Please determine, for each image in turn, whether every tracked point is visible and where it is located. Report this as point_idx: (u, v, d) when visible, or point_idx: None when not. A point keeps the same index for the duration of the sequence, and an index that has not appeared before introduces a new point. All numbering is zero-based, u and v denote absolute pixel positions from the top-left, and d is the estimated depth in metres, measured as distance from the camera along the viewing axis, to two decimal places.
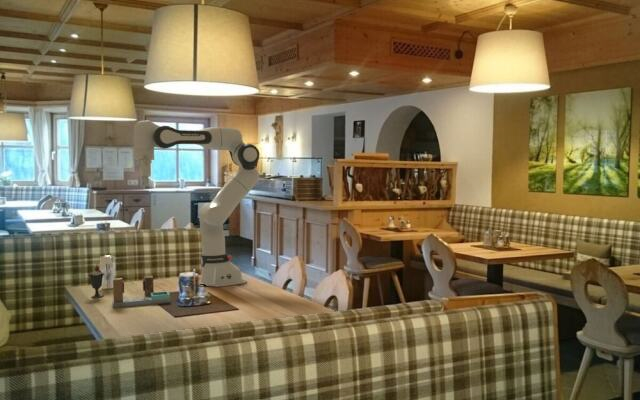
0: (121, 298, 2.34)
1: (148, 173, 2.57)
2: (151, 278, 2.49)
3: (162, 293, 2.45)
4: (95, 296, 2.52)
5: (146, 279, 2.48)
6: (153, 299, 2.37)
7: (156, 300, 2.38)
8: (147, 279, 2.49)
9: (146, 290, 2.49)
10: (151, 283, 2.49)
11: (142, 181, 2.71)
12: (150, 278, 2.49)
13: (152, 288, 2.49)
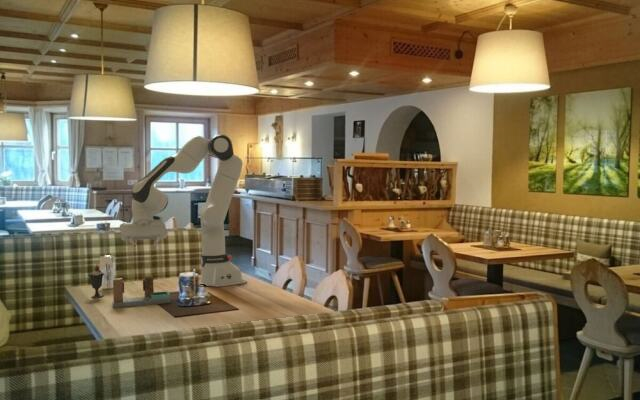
0: (121, 298, 2.34)
1: (121, 235, 2.61)
2: (151, 278, 2.49)
3: (162, 293, 2.45)
4: (95, 296, 2.52)
5: (146, 279, 2.48)
6: (153, 299, 2.37)
7: (156, 300, 2.38)
8: (147, 279, 2.49)
9: (146, 290, 2.49)
10: (151, 283, 2.49)
11: None
12: (150, 278, 2.49)
13: (152, 288, 2.49)
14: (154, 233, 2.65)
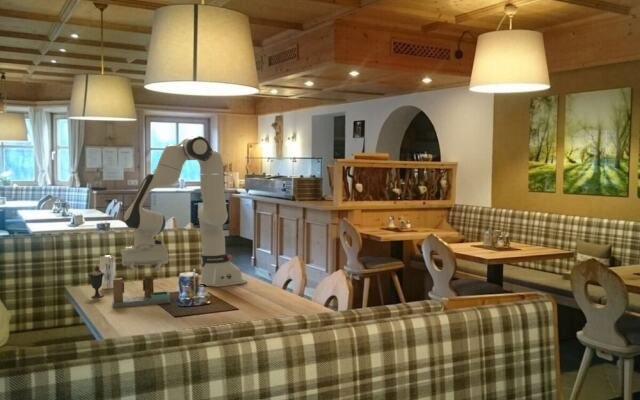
0: (121, 298, 2.34)
1: (122, 261, 2.56)
2: (151, 278, 2.49)
3: (162, 293, 2.45)
4: (95, 296, 2.52)
5: (146, 279, 2.48)
6: (153, 299, 2.37)
7: (156, 300, 2.38)
8: (147, 279, 2.49)
9: (146, 290, 2.49)
10: (151, 283, 2.49)
11: None
12: (150, 278, 2.49)
13: (152, 288, 2.49)
14: (156, 258, 2.60)
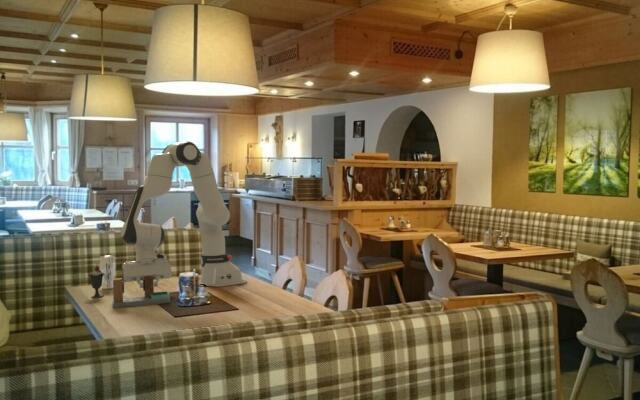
0: (121, 298, 2.34)
1: None
2: (151, 278, 2.49)
3: (162, 293, 2.45)
4: (95, 296, 2.52)
5: (146, 279, 2.48)
6: (153, 299, 2.37)
7: (156, 300, 2.38)
8: (147, 279, 2.49)
9: (146, 290, 2.49)
10: (151, 283, 2.49)
11: None
12: (150, 278, 2.49)
13: (152, 288, 2.49)
14: (158, 273, 2.54)
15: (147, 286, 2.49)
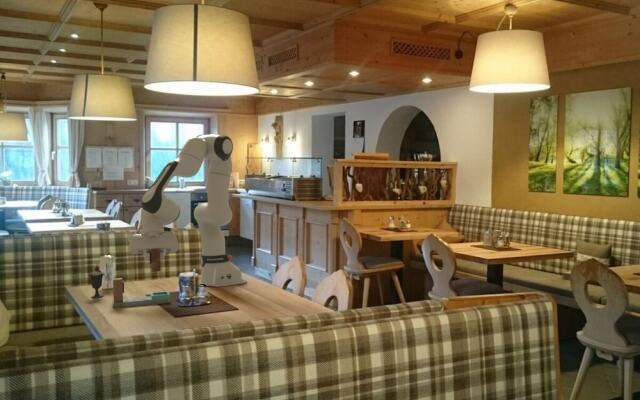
0: (121, 298, 2.34)
1: None
2: (158, 251, 2.42)
3: (162, 293, 2.45)
4: (95, 296, 2.52)
5: (153, 251, 2.41)
6: (153, 299, 2.37)
7: (156, 300, 2.38)
8: (154, 252, 2.41)
9: (153, 263, 2.41)
10: (158, 256, 2.42)
11: None
12: (157, 250, 2.42)
13: (159, 261, 2.42)
14: (165, 246, 2.46)
15: (154, 259, 2.41)
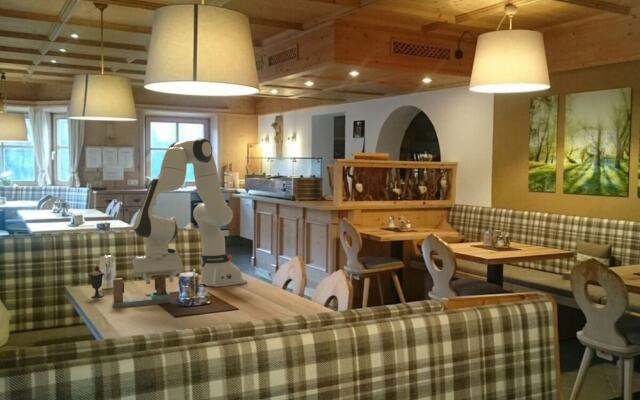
0: (121, 298, 2.34)
1: None
2: (163, 277, 2.40)
3: None
4: (95, 296, 2.52)
5: (158, 278, 2.39)
6: (153, 299, 2.37)
7: (156, 300, 2.38)
8: (159, 278, 2.40)
9: (158, 289, 2.40)
10: (163, 282, 2.40)
11: None
12: (162, 277, 2.40)
13: (164, 287, 2.41)
14: (169, 268, 2.44)
15: (159, 285, 2.40)
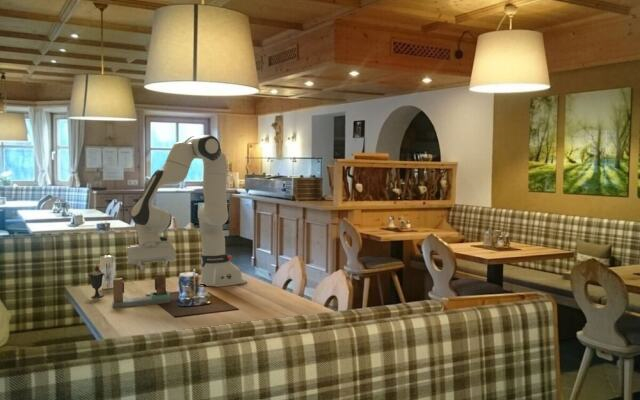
0: (121, 298, 2.34)
1: (128, 259, 2.50)
2: (163, 277, 2.40)
3: None
4: (95, 296, 2.52)
5: (158, 278, 2.39)
6: (153, 299, 2.37)
7: (156, 300, 2.38)
8: (159, 278, 2.40)
9: (158, 289, 2.40)
10: (163, 282, 2.40)
11: None
12: (162, 277, 2.40)
13: (164, 287, 2.41)
14: (163, 255, 2.55)
15: (159, 285, 2.40)
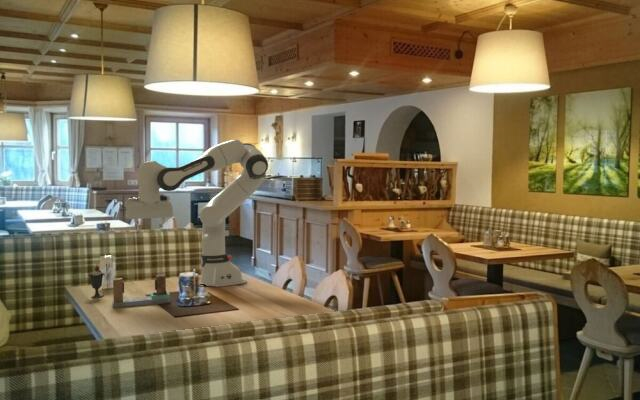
0: (121, 298, 2.34)
1: (126, 216, 2.54)
2: (163, 277, 2.40)
3: None
4: (95, 296, 2.52)
5: (158, 278, 2.39)
6: (153, 299, 2.37)
7: (156, 300, 2.38)
8: (159, 278, 2.40)
9: (158, 289, 2.40)
10: (163, 282, 2.40)
11: (161, 222, 2.61)
12: (162, 277, 2.40)
13: (164, 287, 2.41)
14: (160, 216, 2.58)
15: (159, 285, 2.40)
